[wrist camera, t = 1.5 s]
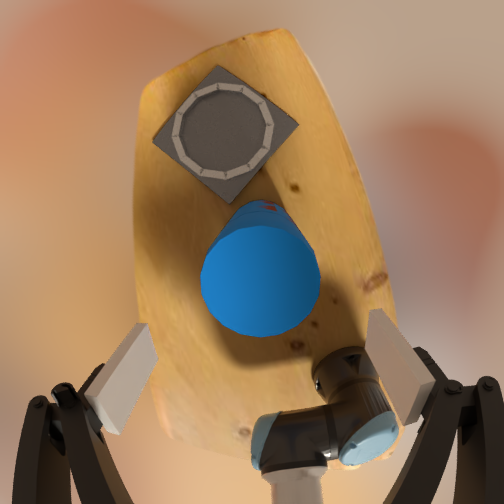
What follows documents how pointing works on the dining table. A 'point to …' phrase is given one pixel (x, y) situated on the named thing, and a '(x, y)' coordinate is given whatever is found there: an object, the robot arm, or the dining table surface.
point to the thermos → (260, 272)
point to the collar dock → (224, 133)
